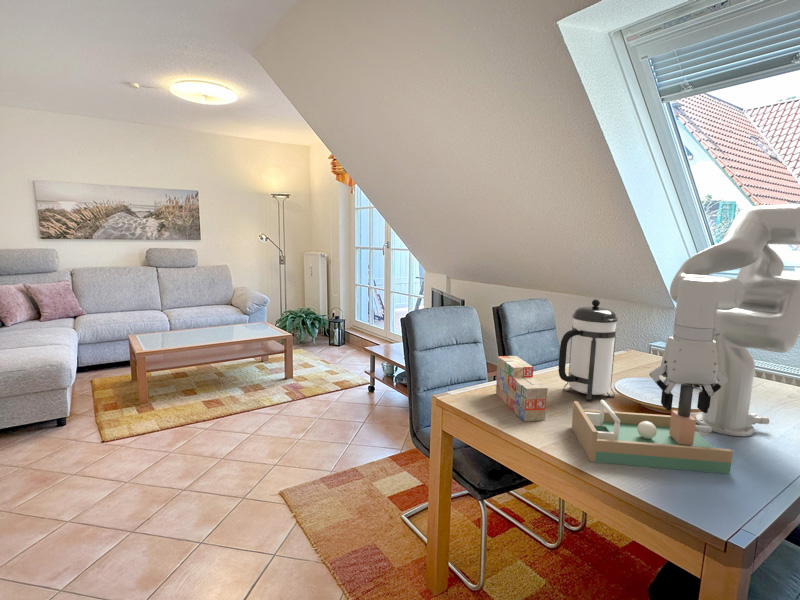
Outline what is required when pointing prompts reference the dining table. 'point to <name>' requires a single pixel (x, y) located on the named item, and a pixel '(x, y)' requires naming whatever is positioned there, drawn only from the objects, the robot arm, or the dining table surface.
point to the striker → (685, 419)
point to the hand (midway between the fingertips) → (684, 408)
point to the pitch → (642, 442)
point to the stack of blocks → (520, 388)
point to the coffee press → (590, 350)
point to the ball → (646, 430)
